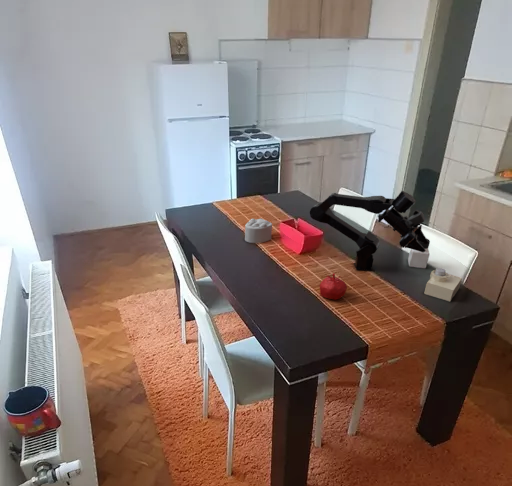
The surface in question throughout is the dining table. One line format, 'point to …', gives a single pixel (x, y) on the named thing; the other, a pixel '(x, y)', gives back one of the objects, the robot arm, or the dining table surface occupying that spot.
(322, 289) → the pomegranate
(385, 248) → the dining table surface
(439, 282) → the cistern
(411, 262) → the medicine bottle
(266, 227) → the lumpy-topped squat cylinder
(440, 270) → the flush button
